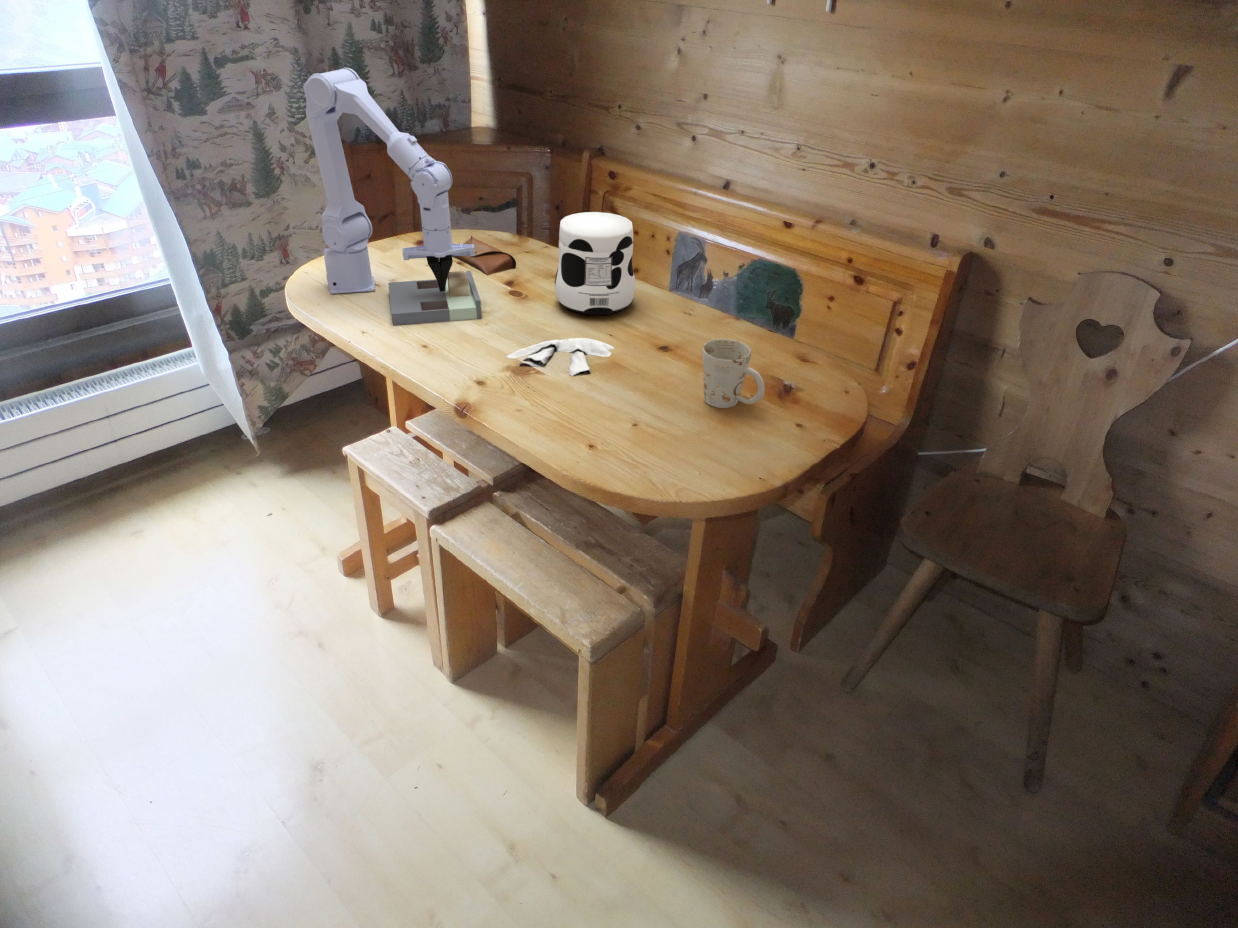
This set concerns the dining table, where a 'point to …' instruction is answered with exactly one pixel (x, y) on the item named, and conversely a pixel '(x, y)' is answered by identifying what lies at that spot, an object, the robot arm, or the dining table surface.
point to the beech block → (458, 284)
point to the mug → (727, 373)
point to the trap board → (431, 302)
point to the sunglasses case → (488, 258)
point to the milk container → (595, 263)
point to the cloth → (577, 345)
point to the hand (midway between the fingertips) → (442, 289)
